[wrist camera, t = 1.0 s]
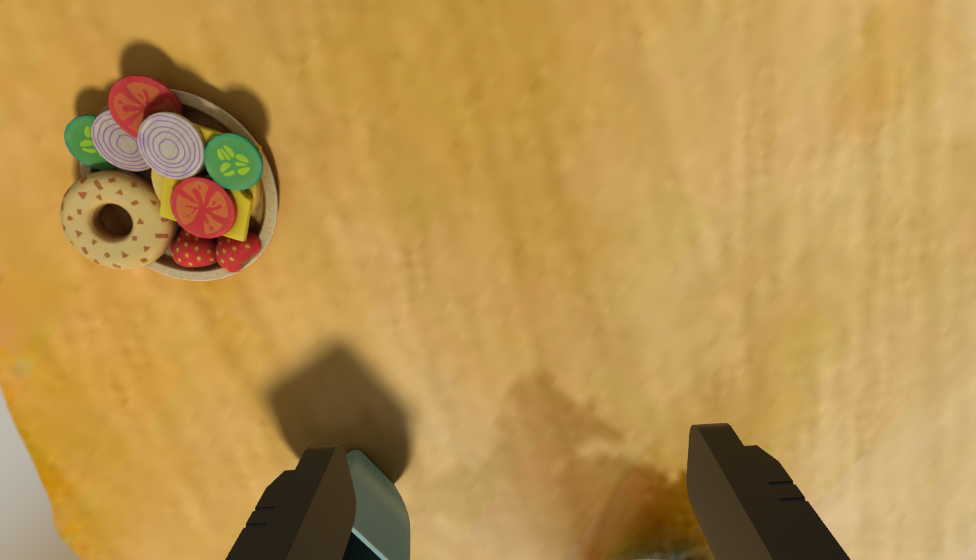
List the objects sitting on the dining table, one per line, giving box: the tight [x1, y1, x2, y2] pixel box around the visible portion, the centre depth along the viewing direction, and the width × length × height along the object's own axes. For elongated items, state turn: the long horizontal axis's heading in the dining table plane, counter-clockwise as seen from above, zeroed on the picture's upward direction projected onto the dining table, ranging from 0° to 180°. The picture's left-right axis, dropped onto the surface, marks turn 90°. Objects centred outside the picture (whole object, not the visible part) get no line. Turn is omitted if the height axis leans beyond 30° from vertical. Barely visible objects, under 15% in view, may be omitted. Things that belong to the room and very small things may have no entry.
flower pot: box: [342, 449, 410, 560], centre depth 39 cm, size 9×9×9 cm
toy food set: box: [61, 75, 278, 281], centre depth 33 cm, size 13×13×3 cm
